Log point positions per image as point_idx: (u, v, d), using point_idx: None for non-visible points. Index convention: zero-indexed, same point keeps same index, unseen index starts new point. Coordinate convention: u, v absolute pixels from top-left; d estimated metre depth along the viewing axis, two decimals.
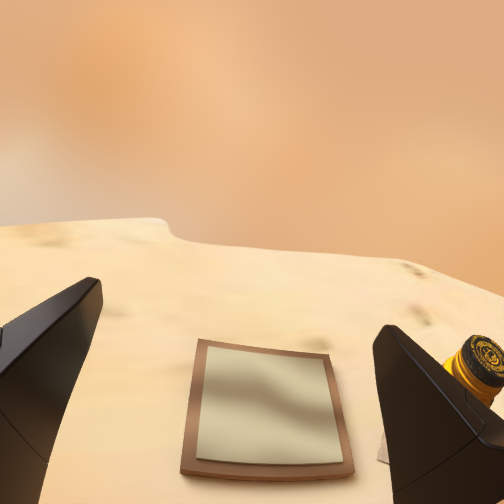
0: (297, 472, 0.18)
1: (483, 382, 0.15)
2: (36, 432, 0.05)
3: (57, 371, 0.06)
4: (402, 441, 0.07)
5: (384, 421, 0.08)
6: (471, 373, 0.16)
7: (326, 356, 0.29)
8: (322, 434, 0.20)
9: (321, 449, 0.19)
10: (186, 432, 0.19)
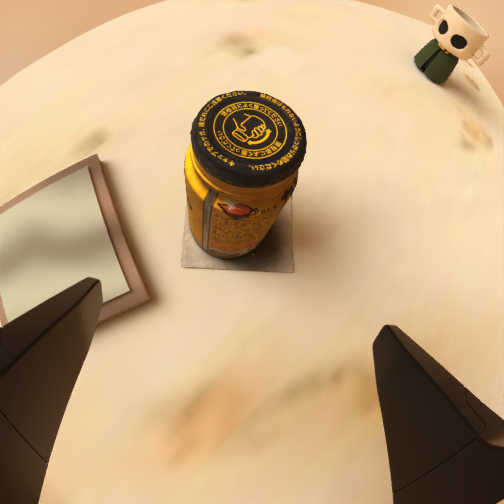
0: None
1: (230, 184, 0.13)
2: (36, 432, 0.05)
3: (57, 371, 0.06)
4: (402, 441, 0.07)
5: (384, 421, 0.08)
6: (205, 170, 0.13)
7: (93, 157, 0.22)
8: (99, 264, 0.20)
9: (102, 284, 0.20)
10: (2, 323, 0.18)
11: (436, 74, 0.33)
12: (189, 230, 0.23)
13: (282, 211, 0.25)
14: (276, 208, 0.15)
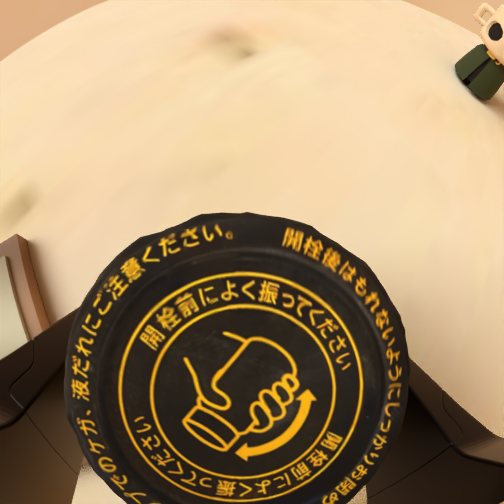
0: None
1: None
2: (70, 446, 0.05)
3: None
4: None
5: None
6: None
7: (13, 240, 0.13)
8: None
9: None
10: None
11: (483, 89, 0.24)
12: None
13: None
14: None
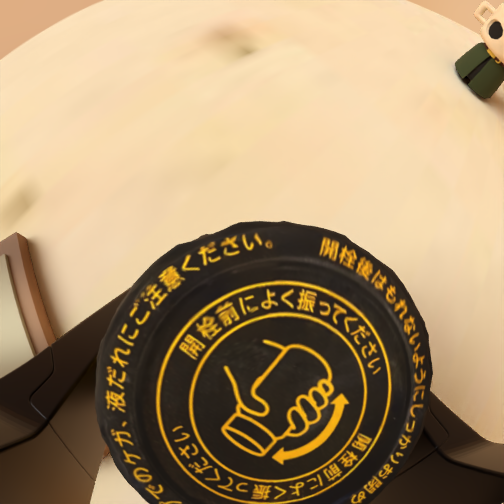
0: None
1: None
2: (88, 452, 0.05)
3: None
4: None
5: None
6: None
7: (13, 239, 0.13)
8: None
9: None
10: None
11: (483, 88, 0.24)
12: None
13: None
14: None
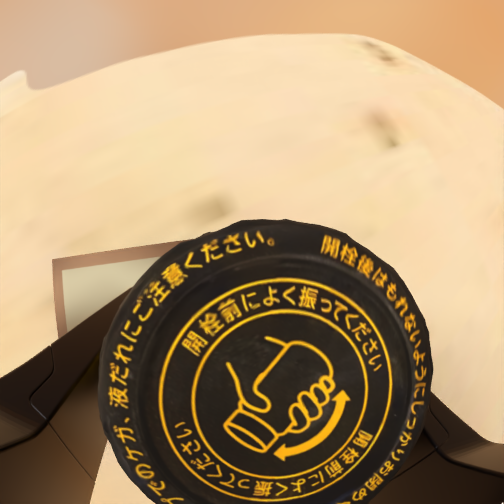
0: None
1: None
2: (88, 452, 0.05)
3: None
4: None
5: None
6: None
7: None
8: None
9: None
10: None
11: None
12: None
13: None
14: None
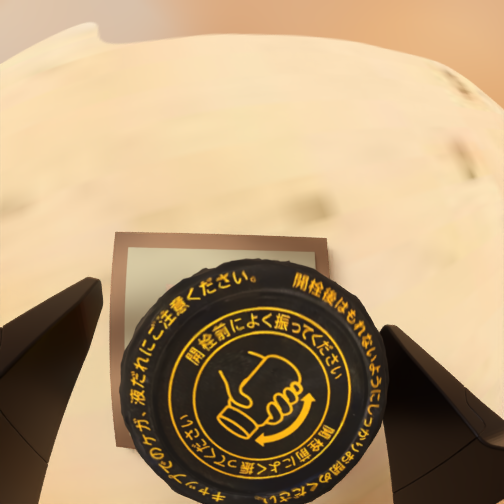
0: None
1: None
2: (36, 432, 0.05)
3: (57, 371, 0.06)
4: (402, 441, 0.07)
5: (384, 421, 0.08)
6: None
7: (322, 242, 0.19)
8: None
9: None
10: (113, 399, 0.15)
11: None
12: None
13: None
14: None
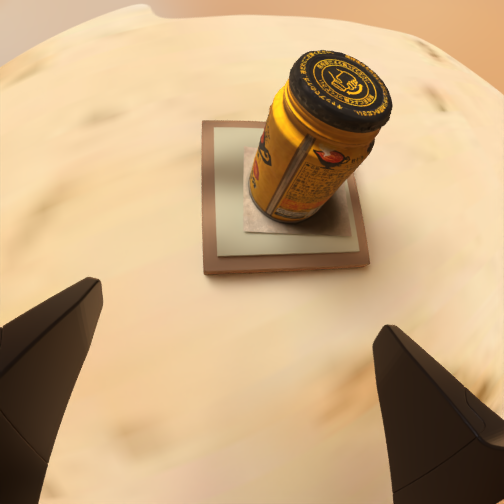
0: (316, 262, 0.23)
1: (335, 126, 0.12)
2: (36, 432, 0.05)
3: (57, 371, 0.06)
4: (402, 441, 0.07)
5: (384, 421, 0.08)
6: (310, 114, 0.12)
7: None
8: None
9: (338, 236, 0.23)
10: (204, 228, 0.22)
11: None
12: (249, 195, 0.23)
13: None
14: (362, 159, 0.15)
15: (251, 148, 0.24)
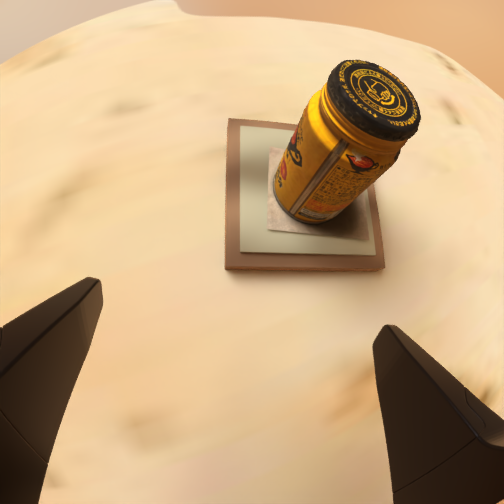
0: (334, 263, 0.23)
1: (370, 134, 0.13)
2: (36, 432, 0.05)
3: (57, 371, 0.06)
4: (402, 441, 0.07)
5: (384, 421, 0.08)
6: (346, 120, 0.13)
7: None
8: None
9: (356, 239, 0.24)
10: (228, 224, 0.22)
11: None
12: (273, 194, 0.23)
13: None
14: (389, 166, 0.15)
15: (276, 148, 0.24)
